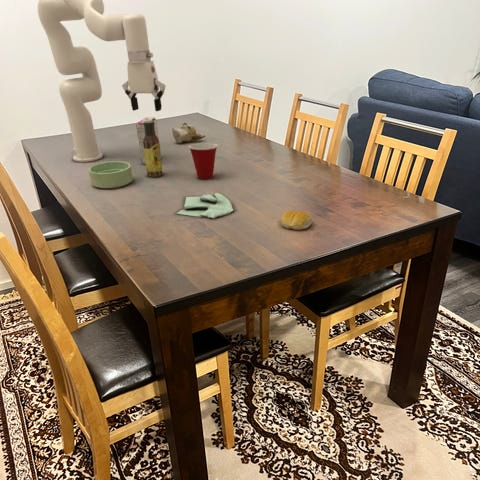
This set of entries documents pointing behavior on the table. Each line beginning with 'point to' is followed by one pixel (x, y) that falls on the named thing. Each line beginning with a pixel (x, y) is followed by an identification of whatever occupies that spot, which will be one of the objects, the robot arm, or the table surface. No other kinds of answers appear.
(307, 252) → the table surface
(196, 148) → the plastic cup
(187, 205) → the cloth
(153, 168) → the sauce bottle
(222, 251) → the table surface
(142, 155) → the candy bar box
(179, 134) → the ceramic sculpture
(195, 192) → the table surface
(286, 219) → the bread roll
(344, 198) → the table surface
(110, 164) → the bowl
